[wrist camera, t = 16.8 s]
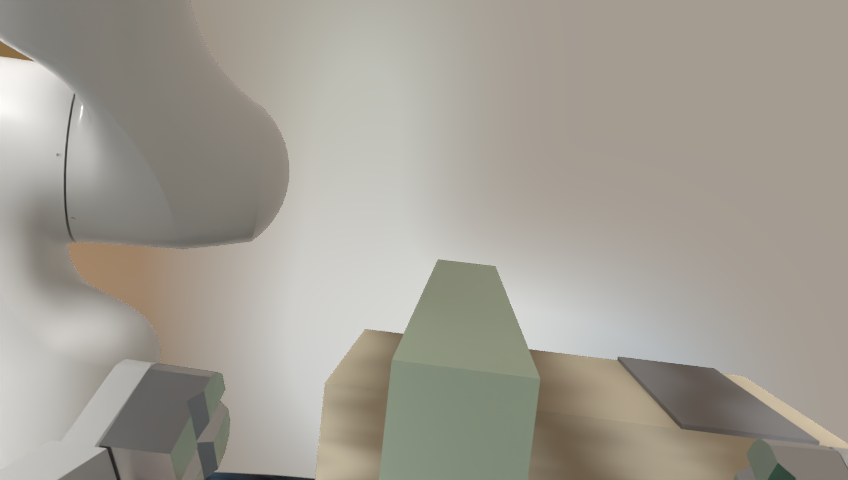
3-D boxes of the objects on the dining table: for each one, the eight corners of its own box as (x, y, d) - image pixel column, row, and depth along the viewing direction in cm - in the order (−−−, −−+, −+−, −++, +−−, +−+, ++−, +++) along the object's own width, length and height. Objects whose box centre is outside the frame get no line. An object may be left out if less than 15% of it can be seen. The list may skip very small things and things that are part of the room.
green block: (376, 502, 15) (391, 359, 15) (431, 315, 39) (438, 259, 39) (522, 522, 15) (540, 378, 15) (488, 322, 39) (495, 266, 39)
